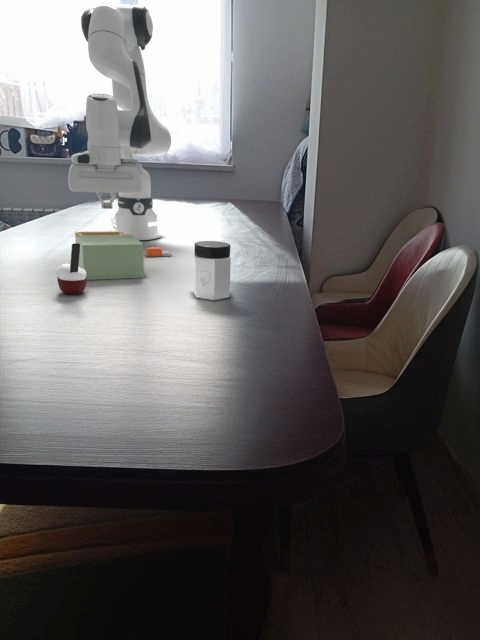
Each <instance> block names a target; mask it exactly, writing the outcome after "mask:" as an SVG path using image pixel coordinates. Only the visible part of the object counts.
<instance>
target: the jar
mask: <svg viewBox="0 0 480 640" xmlns="http://www.w3.org/2000/svg"><path fill="white" fill-rule="evenodd" d="M193 252H194V254H193V294H194V297H195V298H196V299H202V300H209V301H216V300H217V301H218V300H225V299H228V298H230V292H231V291H230V290H231V267H232V266H231V264H232V263H231V262H232V261H231V260H232V258H231V244H230V243H228V242H225V241H217V240H200V241H196V242H194V250H193Z"/></svg>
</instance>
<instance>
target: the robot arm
mask: <svg viewBox="0 0 480 640" xmlns="http://www.w3.org/2000/svg"><path fill="white" fill-rule="evenodd" d="M80 23H81V24H80V25H81V31H82V33H83V36H84V39H85V41H86V42H87V52H88V58H89V61H90V63H91V65H92V66H93V67H94V69H95V70H96V71H97V72H98V73H99V74H101V75H103V76H104V77H106V78H109V79H110V80H111V86H112V87H111V89H112V94H111V95H110V94H107V93H91V94H88V95H87V96H86V102H85V115H84V116H83V126H84V127H83V129H84V135H85V136H86V137H87V144H86V147H87V148H86V149H87V150H85V151H80V152H77V153H74V154H72V155H70V156H71V157H70V159H71V160H70V161H71V163H72V164H70V166H69V169H68V175H67V185H68V189H69V190H70V191H71V192H74V193H76V192H77V193H96V197H97V198H98V200H99V201H100V204H101V209H103V210H113V203H114V201H115V199H116V198H117V207H118V208H117V211H116V212H115V214H114V215H113V216H112V217H111V225H113V226H112V227H113V228H111V230H110V231H123V232H124V235H133V236H134V237H135V238H137V239H138V240H139V241H148V240H149V241H150V240H155V239H158V238H163V234H162V233H160V232H159V227H158V226H159V225H161V224H162V221H158V215H157V213H156V212H155V211H154V210H153V208H154V207H153V205H154V204H153V203H154V201H153V197H152V179H151V175H150V173H149V172H148V171H147V169H145V168H143V165H142V163H141V162H140V161H138V160H137V159H135V158H133V157H134V156H137V157H157V156H163V155H164V156H165V155H166V154H167V153H168V152H169V150H170V149H171V145H172V136H171V134H170V131H169V129H168V128H167V127H166V125H164V124H163V123H162V122H161V121H160V120H159V119H158V118H157V117H156V115H155V114H154V112H153V110H152V107H151V105H150V102H149V97H148V90H147V81H146V80H147V79H146V71H145V64H144V58H143V54H142V51H144V50H145V49H146V46H147V45H149V43H150V41H151V39H152V37H153V29H154V25H153V20H152V17H151V14H150V12H149V10H148V9H147V8H146V6H144V5H141V4H135V3H134V4H133V5H132V4H113V5H110V4H104V3H103V4H99V5H97V6H96V7H90V8H88V9H86V10H84V11H83V13H82V15H81V17H80ZM118 108H120V109H121V110H120V109H118ZM103 193H109V196H110V197H111V198H109V201H105V200H103V198H102V197H103V195H104V194H103ZM117 194H118V197H117Z"/></svg>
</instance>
